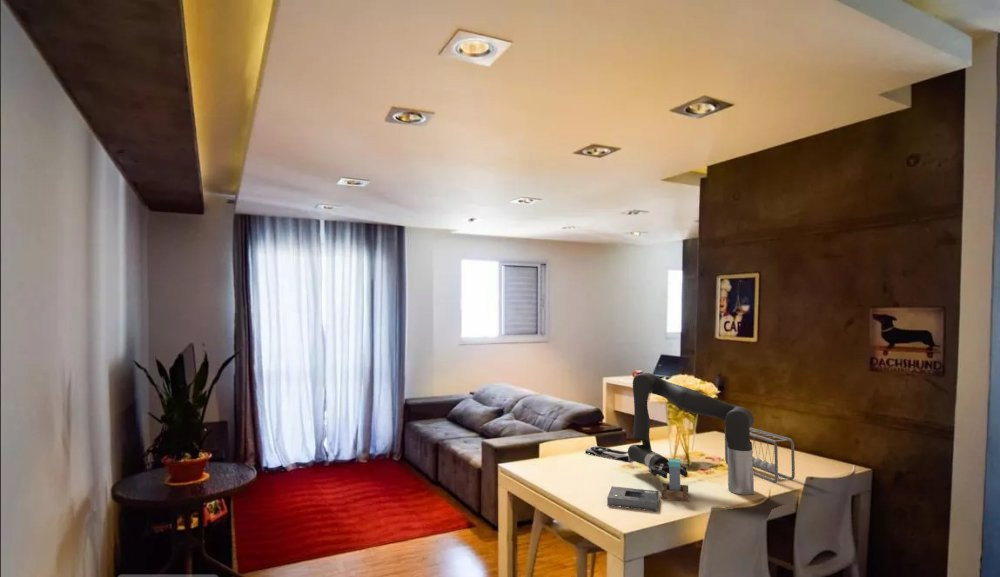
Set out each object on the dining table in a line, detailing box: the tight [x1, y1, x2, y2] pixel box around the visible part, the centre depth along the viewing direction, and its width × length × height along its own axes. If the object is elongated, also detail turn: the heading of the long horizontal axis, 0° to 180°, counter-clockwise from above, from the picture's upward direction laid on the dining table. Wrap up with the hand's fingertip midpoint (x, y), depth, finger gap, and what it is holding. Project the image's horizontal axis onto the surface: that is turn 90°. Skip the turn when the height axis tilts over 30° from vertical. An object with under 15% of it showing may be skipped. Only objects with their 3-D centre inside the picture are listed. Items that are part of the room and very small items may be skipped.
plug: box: [668, 458, 682, 491], centre depth 212 cm, size 4×4×14 cm
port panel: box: [606, 485, 660, 512], centre depth 206 cm, size 18×13×3 cm
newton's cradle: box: [724, 426, 796, 483], centre depth 242 cm, size 30×10×18 cm, turn 20°
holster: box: [660, 482, 689, 503], centre depth 212 cm, size 10×10×3 cm
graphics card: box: [584, 445, 632, 463], centre depth 269 cm, size 10×3×25 cm
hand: (676, 475), depth 211 cm, fingers open, 8 cm apart
